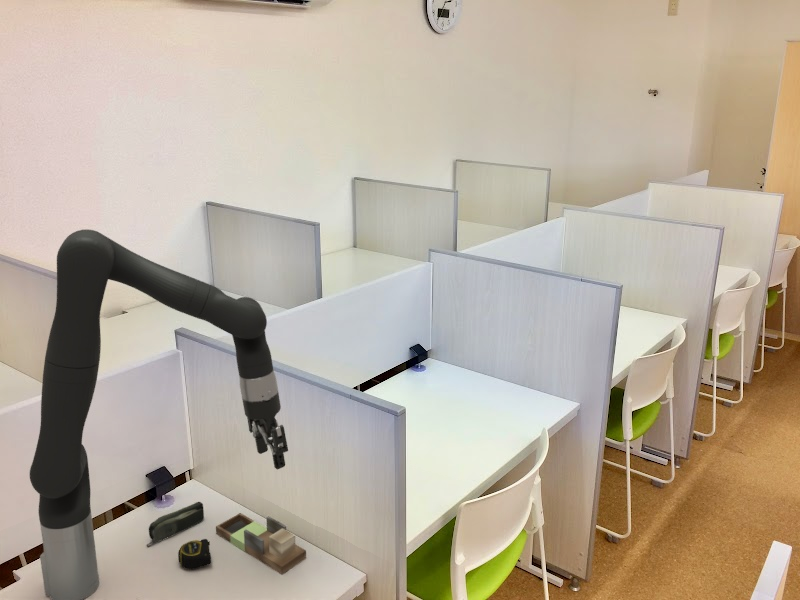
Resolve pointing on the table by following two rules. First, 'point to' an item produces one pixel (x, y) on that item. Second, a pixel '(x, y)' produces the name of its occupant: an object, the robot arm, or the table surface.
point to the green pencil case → (176, 522)
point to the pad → (238, 536)
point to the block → (282, 543)
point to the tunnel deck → (261, 542)
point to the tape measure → (194, 554)
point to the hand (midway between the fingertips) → (271, 459)
